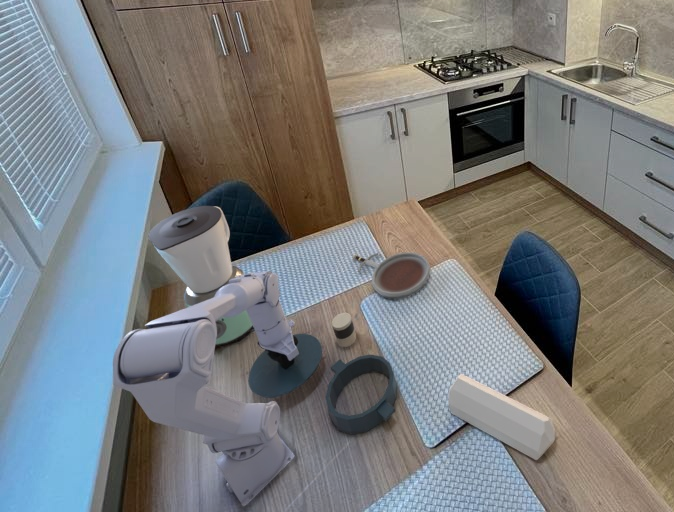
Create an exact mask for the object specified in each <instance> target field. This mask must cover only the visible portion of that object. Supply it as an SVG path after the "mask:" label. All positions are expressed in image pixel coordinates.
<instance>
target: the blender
mask: <svg viewBox="0 0 674 512" xmlns="http://www.w3.org/2000/svg"><path fill="white" fill-rule="evenodd" d="M230 236H231V231H230V227H229V224H228V222H227V219H226V216H225V214H224V212H223V210H222V208H221V207H220V206H216V205H215V206H213V205H200V206H194V207H190V208H186V209H183V210H180V211H178V212H175V213H173V214H171V215H169V216H167V217H165V218H164V219H162V220H160V221H159V222H158V223H157V224H155V225H154V226H153V227H152V228H151V229H150V230H149V233H148V236H147V238H148V240H149V242H150V243H151V244H152V245H153V247H154V249H155V250H156V251H157V252H158V254H159V255H160V256H161V258H162V259H163V260H164V261H165V262H166V264H167V265H168V266H169V267H170V269H172V271H173V272H174V273H175V274H176V275H177V276H178V278H179V279H180V280H181V281H182V282H183V283H184V285H185V286H186V288H185V289H184V290H185V291H184V294H183V301H184V305H185V308H188V307H190V306H193V305H195V304H198V303H201V302H203V301H206V300H209V299H211V298H214V296H215V294H216V292H217V291H218V290H219V289H220V288H222V287H223V286H225V285H227V284H229V280H231V279H233V278H236V277H237V276H238V275H244V274H245V272H244V271H243V270H242V269H241V268H240V267H238V266H236V265H232V259H231V254H230V249H229V241H230ZM215 323H216V327H217V337H216V344H215V347H218V346H224V345H228V344H231V343H234V342H236V341H239V342H240V341H242V340H244V339H245V338H246V336H247V334H248V333H249V332H250V331H252V329H254V327H253V325H252V323H251V320H250V318H249V316H248V313H247V311H246V310H245V311H243V312H242V313H240V314H238V315H237V316H234V317H222V318H220V319H219V320H217V321H216V322H215Z"/></svg>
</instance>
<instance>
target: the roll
mask: <svg viewBox="0 0 674 512" xmlns="http://www.w3.org/2000/svg"><path fill="white" fill-rule="evenodd" d="M331 326H332V329H333V332H334V336H335V339H336V342H337V345H338V346H339V347H340V348H348V347H350V346H351V345H353V344H354V343H355V342H356V339H357V333H356V329H355V326H354V321H353V318H352V315H351V314H350V313H348V312H341V313H338V314H336V315H335V316H334V317H333V318H332V321H331Z"/></svg>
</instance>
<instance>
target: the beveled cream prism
mask: <svg viewBox="0 0 674 512" xmlns="http://www.w3.org/2000/svg"><path fill="white" fill-rule="evenodd" d="M447 397H448V398H447V401H448V403H447V404H448V406H449V411H450V414H452V415H453V416H455V417H456V418H458V419H461V420H462V421H464V422H466V423H468V424H470V425H471V426H473V427H475V428H477V429H479V430H480V431H482V432H484V433H486V434H488V435H490V436H492V437H493V438H495V439H497V440H498V441H501V442H502V443H504V444H505V445H508V446H510V447H511V448H513V449H515V450H517V451H518V452H520V453H522V454H524V455H525V456H528V457H529V458H532V459H533V460H535V461H538V460H539V459H540V458H541V457H542V456H543V455H544V454H545V453H546V452H547V451H548V449H549V448H550V447H551V446H552V445H553V443H554V442H555V440H556V429H555V424H554V420H553V419H552V418H551V417H550V416H547V415H546V414H544V413H541V412H540V411H537V410H536V409H533V408H531V407H529V406H528V405H525V404H523V403H521V402H519V401H517V400H515V399H513V398H511V397H510V396H507V395H505V394H504V393H501V392H499V391H498V390H495V389H493V388H491V387H489V386H488V385H486V384H483V383H481V382H479V381H477V380H475V379H473V378H471V377H469V376H467V375H465V374H462V373H460V374H459V375H458V376H456V379H454V381H453V383H452V385H451V386H450V387H449V390H448V395H447Z"/></svg>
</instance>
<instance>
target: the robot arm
mask: <svg viewBox="0 0 674 512" xmlns="http://www.w3.org/2000/svg"><path fill="white" fill-rule="evenodd" d="M280 297H281V292H280V290H279V276H278V274H276V273H274V272H272V271H270V270H265V271H257V272H248V273H244V275H238V276H237V277H236V278H233V279H231V280H229V284H227V285H225V286H223V287H222V288H220V289H219V290H218V291H217V292H216V294H215V296H214V298H211V299H209V300H206V301H203V302H201V303H198V304H195V305H193V306H190V307H188V308H186V307H185V308H182V309H180V310H177V311H175V312H172V313H169V314H166V315H164V316H161V317H158V318H156V319H153V320H151V321H149V322H147V323H146V324H144V327H146V328H137V329H134V330H131V331H129V332H128V333H127V334H126V335H125V336H124V337H123V338H122V339H121V341H119V344H118V345H117V347H116V349H115V351H114V353H113V356H112V357H113V358H112V385H113V387H114V386H115V387H117V388H120V389H122V390H125V391H127V392H129V393H131V395H132V396H133V397H134V399H135V401H136V402H137V403H138V404H139V406H140V407H141V409H142V411H143V412H144V413H145V415H146V417H147V418H148V419H149V420H150V421H151V422H153V423H156V424H160V425H164V426H167V427H171V428H175V429H179V430H182V431H183V430H184V431H186V432H190V433H195V434H199V435H202V436H203V438H202V444H204V445H207V446H208V449H209V451H210V452H211V453H212V454H218V453H221V452H222V454H221V455H220V456H219V457H218V458H217V460H216V461H215V465H216V466H217V468H218V469H219V471H220V472H221V474H222V475H223V477H224V479H225V481H226V482H227V483H226V484H225V485H226V488H227V489H228V490H229V492H230V493H234V495H235V496H236V498H237V499H238V501H239V502H240V504H241V506H242V507H245V506H247V505H249V503H251V501H252V500H253V499H254V498H255V497H256V496H257V495H258V494H259V493H260V492H261V491H262V490H263V489H264V488H265V487H266V486H267V485H268V484H269V483H270V482H272V480H273V479H275V477H277V475H278V474H280V473H281V472H282V471H283V470H284V468H286V467H287V466H288V465H289V464H290V462H292V461H293V459H294V458H295V454H294V452H293V451H292V450H291V448H290V447H289V446H288V445H287V444H286V442H285V441H284V440H283V438H282V437H281V436H280V435H279V433H278V430H279V427H280V422H281V421H280V420H281V408H280V405H279V404H278V402H277V401H276V400H270V401H269V402H266V403H265V402H257V403H256V402H255V403H254V402H253V403H245V402H242V401H241V400H238V399H236V398H234V397H231V396H229V395H227V394H224V393H222V392H220V391H217V390H215V389H212V388H210V387H209V386H206V385H207V384H208V383H210V382H211V379H212V378H211V377H212V372H213V366H214V365H213V364H214V356H215V348H216V346H215V344H216V337H217V327H216V323H215V322H216V321H217V320H219V319H220V318H222V317H234V316H237V315H238V314H240V313H242V312H243V311H245V310H246V311H247V313H248V316H249V318H250V320H251V323H252V325H253V329H254V332H255V334H256V337H257V345H258V346H259V347H260V349H263V350H264V351H265V350H267V351H268V352H269V353H267V354H268V356H269V357H270V358H271V359H272V360H274V361H277V362H279V364H280V365H281V366H282V367H283V368H284V369H285V370H286V369H287V368H289V367H290V366H291V365H292V364H294V360H295V357H296V356H297V355H298V354H299V352H298V349H297V347H296V346H297V344H298V339H297V338H296V337H295V336H293V335H294V334H293V331H292V329H293V327H295V326H296V323H295V321H294V320H292V319H291V318H290V319H288V320H287V317H286V314H285V312H284V309H283V306H282V304H281V300H280ZM251 496H252V497H251Z"/></svg>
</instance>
